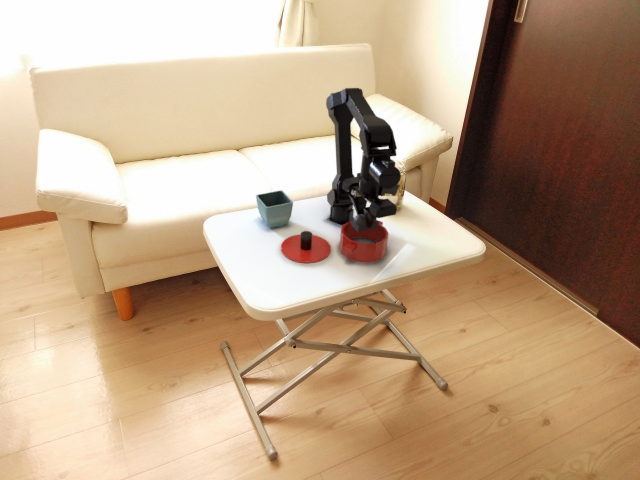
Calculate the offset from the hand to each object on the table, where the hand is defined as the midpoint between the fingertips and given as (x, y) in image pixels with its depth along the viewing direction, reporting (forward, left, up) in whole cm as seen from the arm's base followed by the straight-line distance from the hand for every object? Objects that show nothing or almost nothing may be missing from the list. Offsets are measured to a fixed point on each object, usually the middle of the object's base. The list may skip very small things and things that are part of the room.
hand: (365, 223), depth 126 cm
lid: (-13, -10, -9) cm, 18 cm away
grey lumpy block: (0, 0, -1) cm, 1 cm away
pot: (0, 0, -9) cm, 9 cm away
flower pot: (-29, -4, -9) cm, 31 cm away
